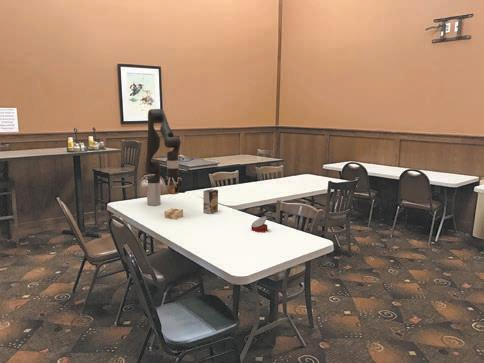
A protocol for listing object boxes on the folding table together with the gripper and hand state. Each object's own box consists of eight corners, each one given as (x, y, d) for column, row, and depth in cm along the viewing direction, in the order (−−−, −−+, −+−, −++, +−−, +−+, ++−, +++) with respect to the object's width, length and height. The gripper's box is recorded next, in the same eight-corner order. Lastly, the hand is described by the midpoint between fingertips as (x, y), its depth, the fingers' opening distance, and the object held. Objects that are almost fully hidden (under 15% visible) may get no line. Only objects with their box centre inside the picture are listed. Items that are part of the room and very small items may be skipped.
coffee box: (210, 214, 285) (210, 191, 283) (203, 213, 289) (203, 190, 286) (218, 211, 293) (218, 189, 290) (211, 210, 296) (211, 188, 294)
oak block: (164, 218, 274) (164, 211, 273) (171, 215, 282) (171, 208, 282) (176, 219, 271) (176, 212, 270) (183, 216, 279) (183, 209, 278)
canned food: (264, 239, 247) (264, 227, 240) (249, 235, 250) (248, 224, 244) (270, 226, 255) (270, 215, 249) (255, 223, 258) (254, 211, 252)
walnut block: (167, 193, 273) (167, 185, 272) (172, 192, 277) (172, 183, 276) (173, 194, 270) (173, 185, 269) (178, 193, 275) (178, 184, 274)
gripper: (160, 167, 271) (161, 192, 274) (177, 168, 264) (178, 194, 267) (167, 165, 277) (168, 190, 280) (184, 167, 271) (185, 192, 273)
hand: (173, 192), depth 274 cm, fingers closed on walnut block, 5 cm apart
